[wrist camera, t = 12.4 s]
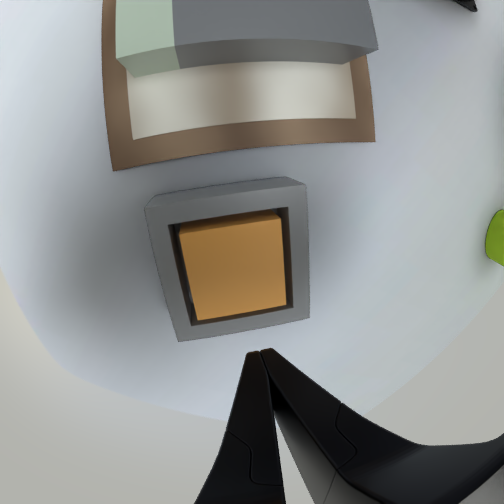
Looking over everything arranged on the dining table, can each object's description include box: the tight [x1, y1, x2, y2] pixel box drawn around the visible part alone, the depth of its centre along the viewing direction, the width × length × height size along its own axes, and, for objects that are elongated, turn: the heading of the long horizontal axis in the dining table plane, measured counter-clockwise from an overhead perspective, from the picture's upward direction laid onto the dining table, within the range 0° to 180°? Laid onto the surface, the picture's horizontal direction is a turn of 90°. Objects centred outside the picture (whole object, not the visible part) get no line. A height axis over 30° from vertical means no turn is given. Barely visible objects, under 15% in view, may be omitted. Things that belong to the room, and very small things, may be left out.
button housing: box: [144, 177, 310, 342], centre depth 17 cm, size 8×8×4 cm
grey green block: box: [116, 0, 379, 78], centre depth 11 cm, size 12×4×4 cm, turn 96°
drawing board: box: [102, 0, 375, 171], centre depth 13 cm, size 16×14×1 cm
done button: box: [179, 209, 286, 320], centre depth 16 cm, size 5×5×3 cm
